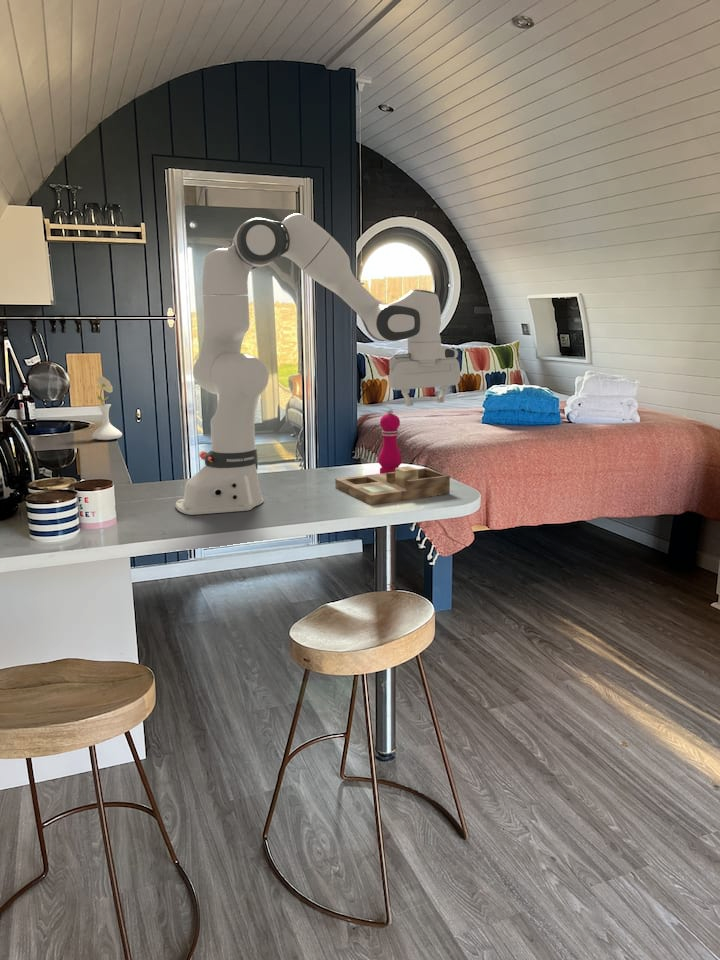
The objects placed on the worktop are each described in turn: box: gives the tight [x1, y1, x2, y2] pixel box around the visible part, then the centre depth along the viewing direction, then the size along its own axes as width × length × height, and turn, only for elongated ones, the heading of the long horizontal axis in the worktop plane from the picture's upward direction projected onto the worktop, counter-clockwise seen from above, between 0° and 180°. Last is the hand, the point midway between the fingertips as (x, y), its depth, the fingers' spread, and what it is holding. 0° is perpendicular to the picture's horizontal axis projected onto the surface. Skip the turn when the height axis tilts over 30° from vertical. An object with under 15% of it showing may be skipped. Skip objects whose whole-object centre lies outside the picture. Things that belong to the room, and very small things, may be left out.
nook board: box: [334, 467, 451, 506], centre depth 206 cm, size 24×22×5 cm
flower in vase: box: [91, 375, 123, 441], centre depth 294 cm, size 13×11×25 cm
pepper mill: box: [377, 408, 403, 474], centre depth 226 cm, size 7×7×20 cm
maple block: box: [395, 465, 419, 487], centre depth 202 cm, size 4×4×4 cm
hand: (425, 404), depth 201 cm, fingers open, 8 cm apart
